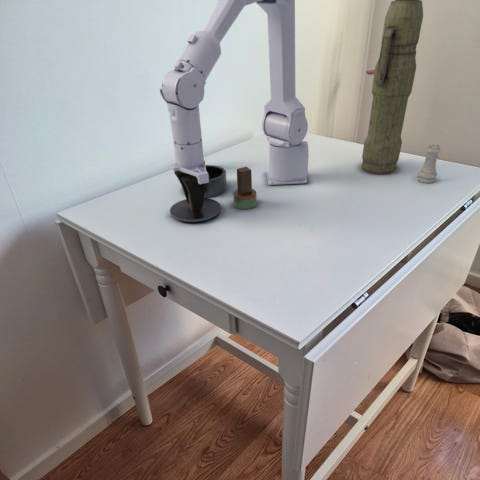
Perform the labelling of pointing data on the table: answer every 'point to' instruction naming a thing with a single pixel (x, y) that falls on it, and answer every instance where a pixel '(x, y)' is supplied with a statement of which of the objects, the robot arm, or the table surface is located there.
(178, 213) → the tin lid
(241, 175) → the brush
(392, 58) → the green robed figurine
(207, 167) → the tin
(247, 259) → the table surface
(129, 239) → the table surface
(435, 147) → the rook chess piece
